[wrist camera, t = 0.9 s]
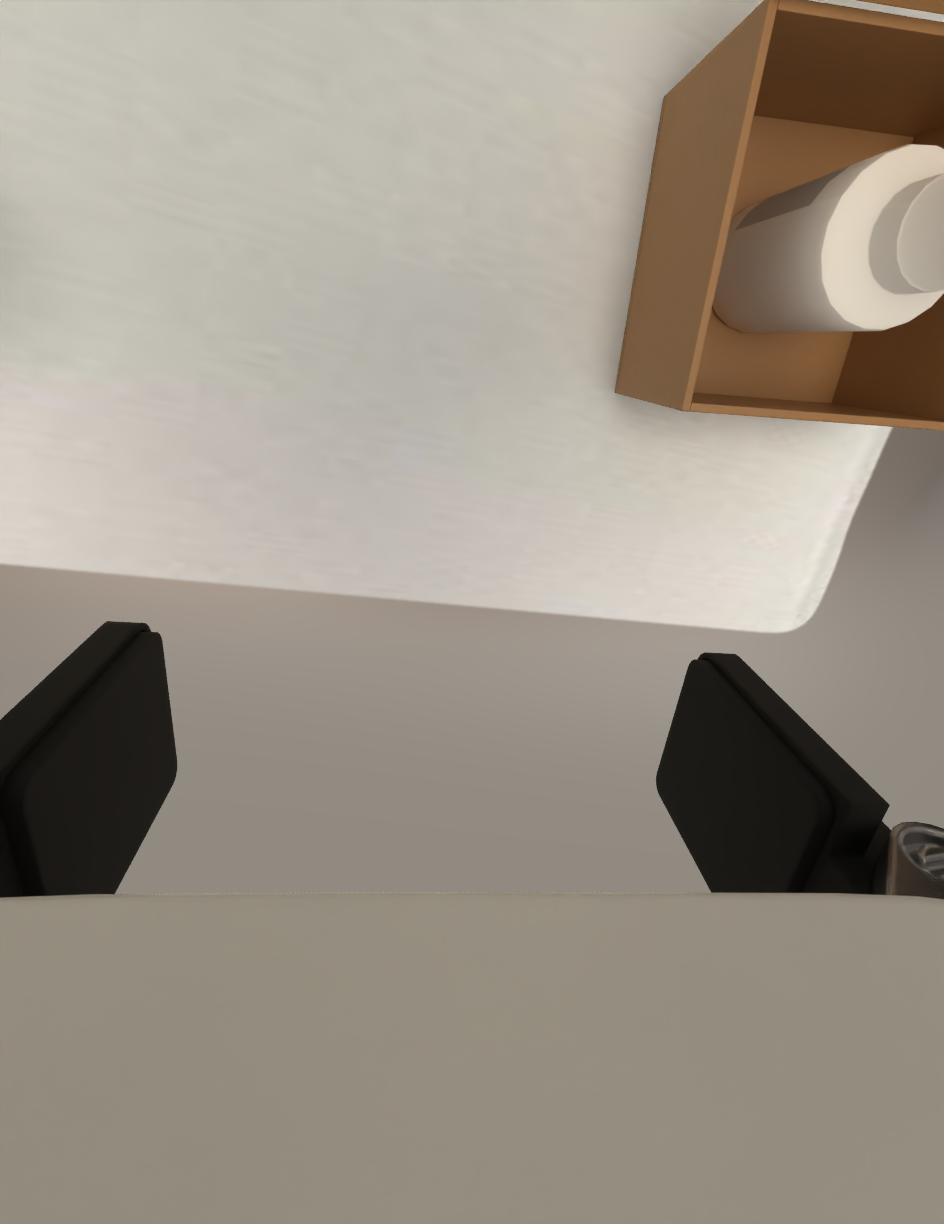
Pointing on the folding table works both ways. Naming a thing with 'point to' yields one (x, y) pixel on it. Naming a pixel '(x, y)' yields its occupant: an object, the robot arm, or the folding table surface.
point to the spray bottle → (840, 249)
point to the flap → (914, 4)
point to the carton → (761, 168)
